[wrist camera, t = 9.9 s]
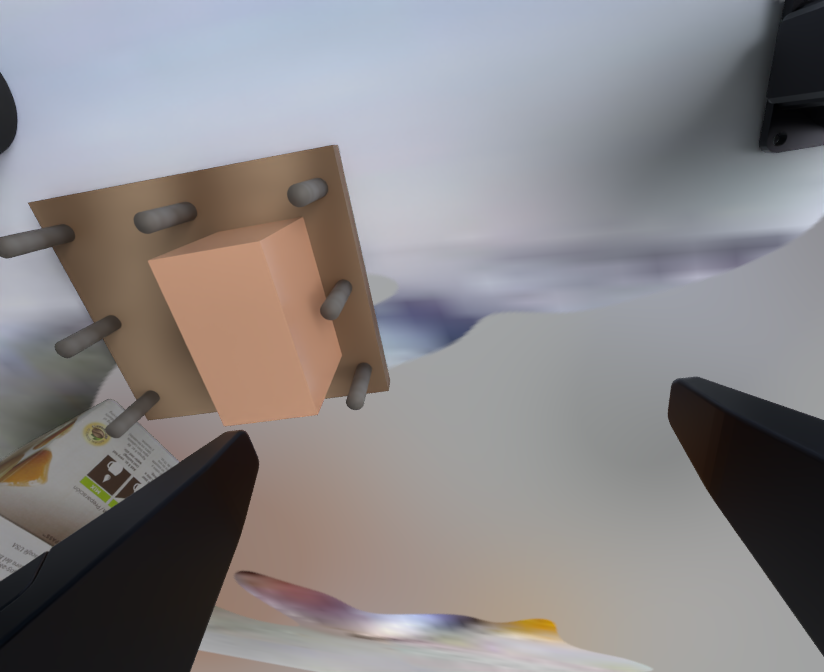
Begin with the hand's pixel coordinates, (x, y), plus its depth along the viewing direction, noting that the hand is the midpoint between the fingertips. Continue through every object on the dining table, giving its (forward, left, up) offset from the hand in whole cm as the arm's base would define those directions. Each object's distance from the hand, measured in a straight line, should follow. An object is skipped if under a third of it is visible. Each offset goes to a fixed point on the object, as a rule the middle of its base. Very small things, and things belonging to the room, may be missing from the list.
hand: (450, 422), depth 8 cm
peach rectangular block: (+7, 0, -11) cm, 13 cm away
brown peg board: (+10, 0, -12) cm, 16 cm away
